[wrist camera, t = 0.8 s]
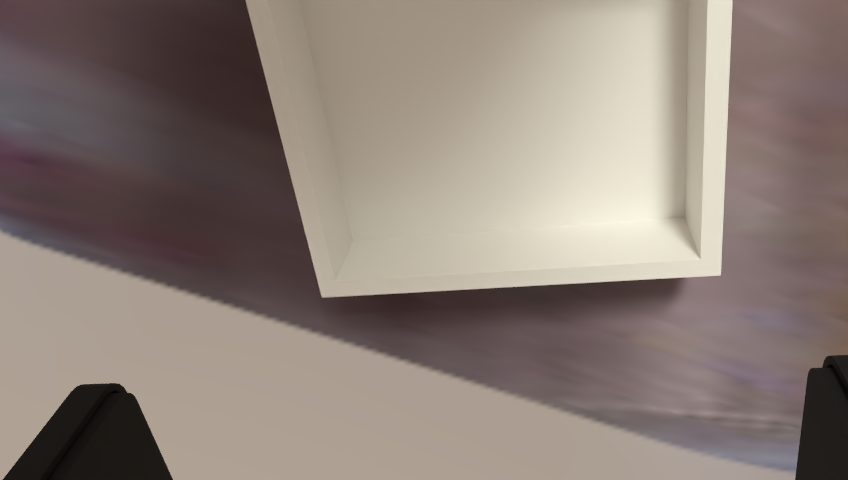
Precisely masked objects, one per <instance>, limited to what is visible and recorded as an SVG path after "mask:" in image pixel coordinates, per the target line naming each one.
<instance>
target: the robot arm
mask: <svg viewBox="0 0 848 480" xmlns="http://www.w3.org/2000/svg"><path fill="white" fill-rule="evenodd" d="M3 480H173V479H172V477H171V475H170V472H169V470H168V468H167V466H166V464H165V462H164V459H163V457H162V455H161V453H160V450H159V448H158V446H157V444H156V441H155V439H154V437H153V435H152V433H151V431H150V428H149V426H148V424H147V422H146V419H145V417H144V415H143V413H142V411H141V408H140V406H139V404H138V402H137V400H136V398H135V396H134V395H133V394H131V393H127V392H126V390H125V388H124V387H122V386H121V385H120V384H115V383H110V384H84V385H80V386H77V387H76V388H75V389H74V390H73V391H72V392H71V393H70V394H69V395H68V397H67V398H66V399H65V400H64V402H63V403H62V404H61V406H60V407H59V408H58V410H57V411H56V412H55V413H54V415H53V416H52V417H51V419H50V420H49V421H48V422H47V424H46V425H45V426H44V427H43V429H42V430H41V431H40V433H39V434H38V435H37V436H36V438H35V439H34V440H33V442H32V443H31V444H30V445H29V447H28V448H27V449H26V451H25V452H24V453H23V454H22V456H21V457H20V458H19V460H18V461H17V462H16V464H15V465H14V466H13V467H12V469H11V470H10V471H9V472H8V474H7V475H6V476H5V478H4V479H3ZM795 480H848V355H837V356H828V357H826V359H825V360H824V363H823V368H812V369H810V371H809V373H808V378H807V386H806V395H805V403H804V411H803V420H802V428H801V436H800V445H799V453H798V461H797V470H796V478H795Z"/></svg>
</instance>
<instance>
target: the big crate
mask: <svg viewBox="0 0 848 480" xmlns="http://www.w3.org/2000/svg"><path fill="white" fill-rule="evenodd" d="M246 4H247V8H248V12H249V16H250V20H251V24H252V28H253V31H254V35H255V39H256V43H257V47H258V51H259V55H260V59H261V63H262V66H263V70H264V74H265V78H266V82H267V86H268V90H269V94H270V98H271V102H272V105H273V109H274V113H275V117H276V121H277V125H278V129H279V133H280V137H281V140H282V144H283V148H284V152H285V156H286V160H287V164H288V168H289V172H290V176H291V179H292V183H293V187H294V191H295V195H296V199H297V203H298V207H299V211H300V215H301V218H302V222H303V226H304V230H305V234H306V238H307V242H308V246H309V250H310V253H311V257H312V261H313V265H314V269H315V273H316V277H317V281H318V285H319V289H320V292H321V296H322V298H325V297H343V296H361V295H378V294H396V293H414V292H432V291H450V290H468V289H485V288H503V287H521V286H539V285H557V284H575V283H592V282H610V281H628V280H646V279H664V278H682V277H700V276H717V275H721V257H722V234H723V210H724V187H725V164H726V140H727V117H728V93H729V70H730V46H731V23H732V0H246Z"/></svg>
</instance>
